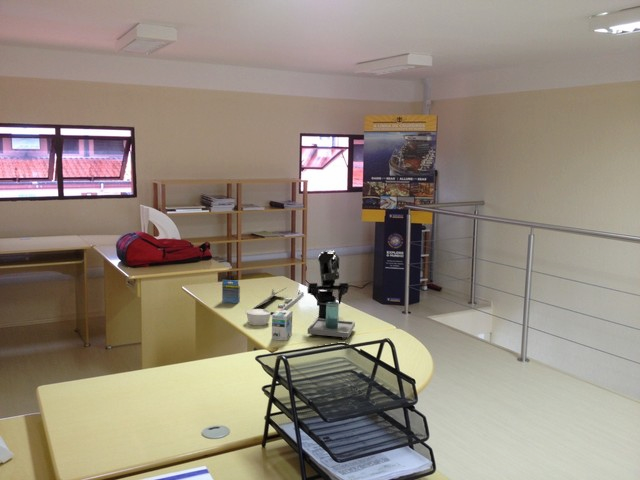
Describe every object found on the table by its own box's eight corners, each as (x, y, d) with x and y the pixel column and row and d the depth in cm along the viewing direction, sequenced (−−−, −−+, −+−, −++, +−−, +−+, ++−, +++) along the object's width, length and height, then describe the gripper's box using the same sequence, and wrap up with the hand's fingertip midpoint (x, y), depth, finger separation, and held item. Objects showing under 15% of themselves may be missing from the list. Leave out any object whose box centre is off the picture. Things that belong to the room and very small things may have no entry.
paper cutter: (303, 296, 337) (303, 286, 336) (279, 316, 294) (279, 305, 293) (273, 293, 341) (273, 284, 341) (244, 313, 298) (244, 302, 298)
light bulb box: (286, 340, 256) (286, 316, 254) (271, 339, 257) (271, 315, 256) (292, 333, 266) (293, 310, 265) (277, 332, 268) (278, 308, 266)
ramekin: (275, 323, 281) (275, 312, 280) (255, 327, 274) (255, 316, 273) (261, 318, 289) (261, 307, 289) (241, 321, 282) (242, 310, 281)
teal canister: (323, 327, 267) (323, 303, 266) (330, 324, 272) (331, 300, 270) (333, 329, 264) (333, 305, 262) (340, 326, 268) (341, 303, 267)
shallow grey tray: (307, 337, 261) (307, 329, 261) (316, 326, 279) (316, 318, 278) (348, 341, 258) (348, 333, 257) (354, 329, 275) (354, 321, 275)
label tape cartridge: (240, 301, 319) (240, 278, 318) (238, 303, 315) (238, 280, 314) (223, 300, 320) (224, 278, 318) (221, 302, 316) (222, 279, 315)
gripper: (309, 265, 274) (312, 294, 265) (348, 265, 277) (353, 294, 268) (306, 278, 283) (308, 307, 274) (344, 278, 286) (348, 307, 277)
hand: (329, 303), depth 273 cm, fingers open, 9 cm apart
